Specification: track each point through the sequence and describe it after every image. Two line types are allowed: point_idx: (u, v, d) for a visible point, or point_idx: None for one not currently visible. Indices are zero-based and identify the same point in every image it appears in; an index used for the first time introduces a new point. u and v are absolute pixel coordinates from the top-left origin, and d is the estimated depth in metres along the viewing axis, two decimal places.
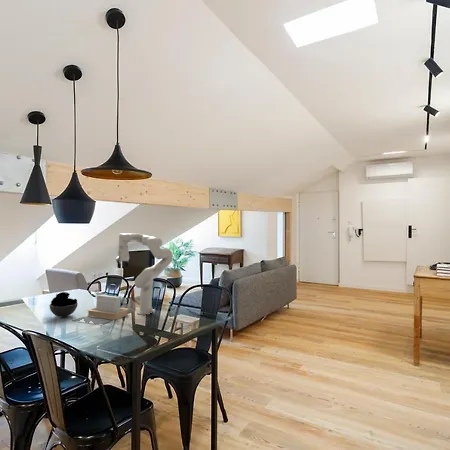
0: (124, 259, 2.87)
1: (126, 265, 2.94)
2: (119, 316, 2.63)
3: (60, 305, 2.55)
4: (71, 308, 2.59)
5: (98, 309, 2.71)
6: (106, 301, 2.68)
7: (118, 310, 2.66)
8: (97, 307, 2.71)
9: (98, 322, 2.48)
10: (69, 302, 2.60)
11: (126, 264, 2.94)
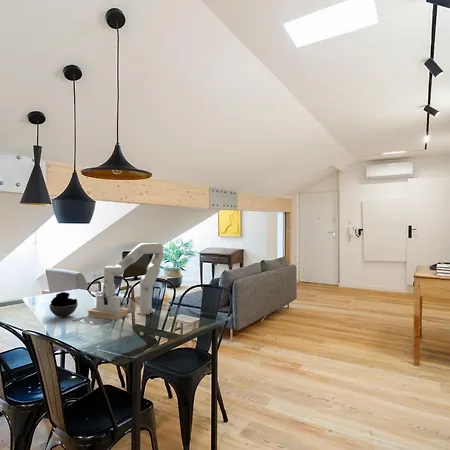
0: (109, 294, 2.68)
1: None
2: (119, 316, 2.63)
3: (60, 305, 2.55)
4: (71, 308, 2.59)
5: (98, 309, 2.71)
6: None
7: (118, 310, 2.66)
8: (97, 307, 2.71)
9: (98, 322, 2.48)
10: (69, 302, 2.60)
11: None
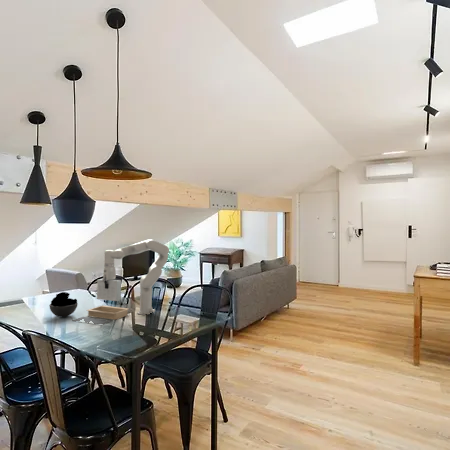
0: (110, 278, 2.68)
1: None
2: (119, 316, 2.63)
3: (60, 305, 2.55)
4: (71, 308, 2.59)
5: (99, 293, 2.71)
6: None
7: (119, 293, 2.66)
8: (98, 291, 2.72)
9: (98, 322, 2.48)
10: (69, 302, 2.60)
11: None
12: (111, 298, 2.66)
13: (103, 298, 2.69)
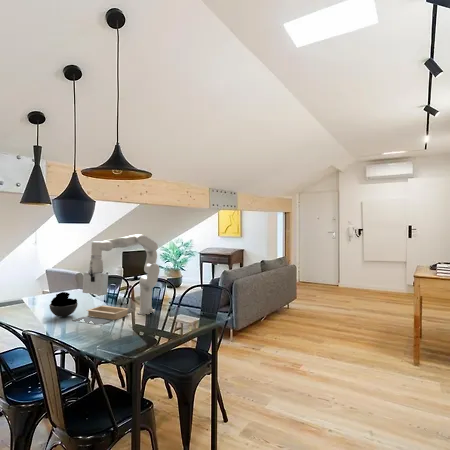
0: (97, 271, 2.54)
1: None
2: (119, 316, 2.63)
3: (60, 305, 2.55)
4: (71, 308, 2.59)
5: (85, 286, 2.57)
6: None
7: (105, 287, 2.52)
8: (84, 284, 2.58)
9: (98, 322, 2.48)
10: (69, 302, 2.60)
11: None
12: (97, 292, 2.51)
13: (89, 292, 2.55)
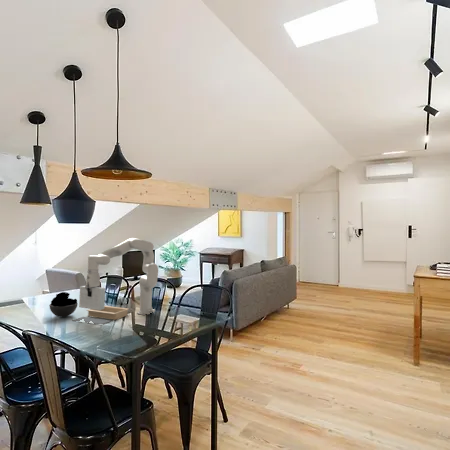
0: (94, 285, 2.51)
1: None
2: (119, 316, 2.63)
3: (60, 305, 2.55)
4: (71, 308, 2.59)
5: (81, 301, 2.54)
6: None
7: (102, 302, 2.49)
8: (80, 299, 2.54)
9: (98, 322, 2.48)
10: (69, 302, 2.60)
11: None
12: (94, 307, 2.49)
13: (85, 306, 2.52)
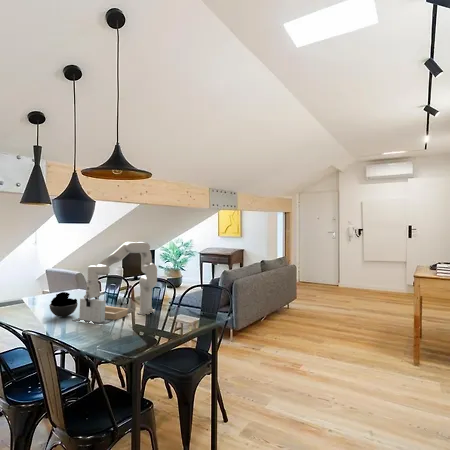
0: (93, 296, 2.51)
1: None
2: (119, 316, 2.63)
3: (60, 305, 2.55)
4: (71, 308, 2.59)
5: (81, 313, 2.54)
6: (90, 305, 2.51)
7: (103, 314, 2.49)
8: (80, 311, 2.55)
9: (98, 322, 2.48)
10: (69, 302, 2.60)
11: None
12: (94, 319, 2.49)
13: (86, 319, 2.52)
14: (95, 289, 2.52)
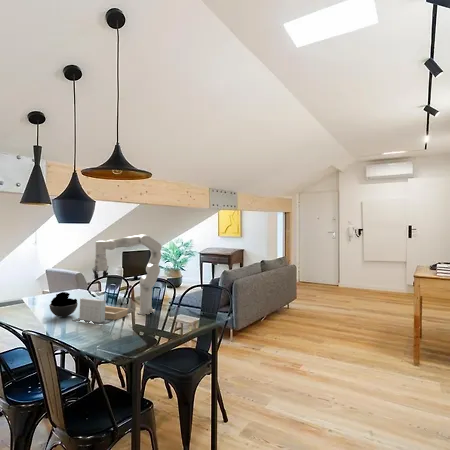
0: (102, 269, 2.61)
1: (104, 275, 2.68)
2: (119, 316, 2.63)
3: (60, 305, 2.55)
4: (71, 308, 2.59)
5: (81, 313, 2.54)
6: (90, 305, 2.51)
7: (103, 314, 2.49)
8: (80, 311, 2.55)
9: (98, 322, 2.48)
10: (69, 302, 2.60)
11: (104, 274, 2.68)
12: (94, 319, 2.49)
13: (86, 319, 2.52)
14: (103, 263, 2.63)
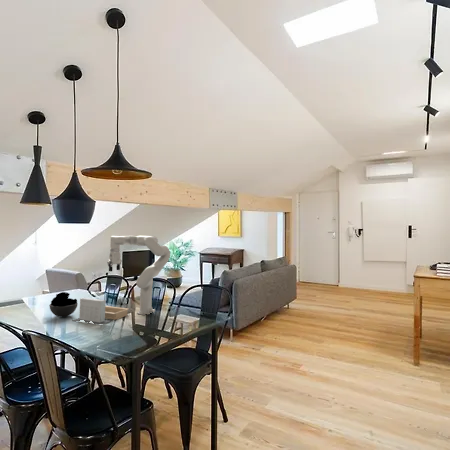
0: (116, 262, 2.83)
1: (118, 268, 2.90)
2: (119, 316, 2.63)
3: (60, 305, 2.55)
4: (71, 308, 2.59)
5: (81, 313, 2.54)
6: (90, 305, 2.51)
7: (103, 314, 2.49)
8: (80, 311, 2.55)
9: (98, 322, 2.48)
10: (69, 302, 2.60)
11: (118, 267, 2.90)
12: (94, 319, 2.49)
13: (86, 319, 2.52)
14: (117, 257, 2.85)
